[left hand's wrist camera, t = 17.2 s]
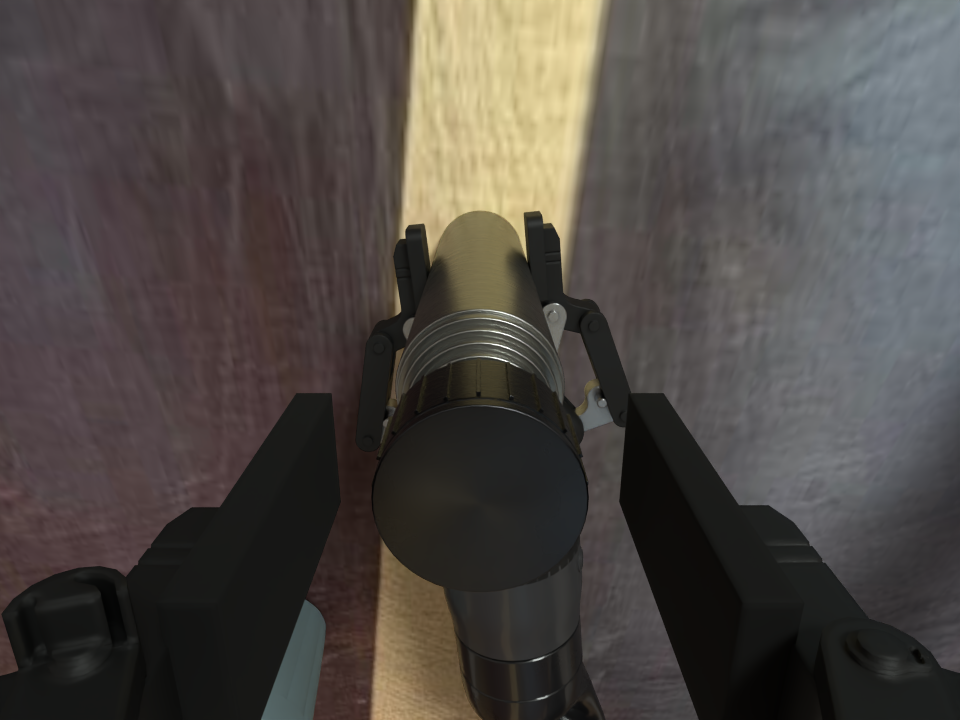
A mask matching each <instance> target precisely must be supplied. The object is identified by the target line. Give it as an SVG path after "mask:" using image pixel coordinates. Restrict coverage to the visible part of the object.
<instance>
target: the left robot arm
mask: <svg viewBox="0 0 960 720" xmlns="http://www.w3.org/2000/svg"><path fill="white" fill-rule="evenodd" d="M340 502H341V500H340V488H339V476H338V465H337V453H336V441H335V429H334V417H333V406H332V394H331V393H296V395H295V396H294V398H293V399H292V401H291V402H290V404H289V405H288V407H287V408H286V410H285V411H284V413H283V414H282V416H281V417H280V419H279V420H278V422H277V423H276V425H275V426H274V428H273V429H272V431H271V432H270V434H269V435H268V436H267V438H266V439H265V441H264V442H263V444H262V445H261V447H260V448H259V450H258V451H257V453H256V454H255V456H254V457H253V459H252V460H251V462H250V463H249V465H248V466H247V468H246V469H245V471H244V472H243V474H242V475H241V477H240V478H239V480H238V481H237V483H236V484H235V486H234V487H233V488H232V490H231V491H230V493H229V494H228V496H227V497H226V499H225V500H224V502H223V503H222V505H221V506H220V507H192V508H190V509H189V510H187V511H186V512H184V513H183V514H181V515H180V516H178V517H177V518H175V519H174V520H173V521H171V522H170V523H168V524H167V525H166V526H165V527H164V529H163V530H162V531H161V532H160V534H159V535H158V536H157V538H156V539H155V540H154V541H153V543H152V544H151V548H148V549H147V550H146V552H145V553H144V554H143V556H142V557H141V558H140V560H139V561H138V565H135V566H134V567H133V569H132V570H131V571H130V572H129V574H128V575H127V576H126V577H125V576H124V575H122V574H121V573H120V572H119V571H117V570H116V569H111V568H106V567H101V566H95V567H83V568H76V569H72V570H69V571H65V572H62V573H58V574H55V575H53V576H50V577H48V578H46V579H44V580H42V581H40V582H38V583H36V584H34V585H32V586H30V587H29V588H28V589H26V590H25V591H23V592H22V593H21V594H19V595H18V596H17V597H15V598H14V599H13V600H12V601H11V603H10V604H9V605H8V606H7V608H6V609H5V610H4V611H3V613H2V617H3V621H4V624H5V627H6V630H7V633H8V637H9V640H10V643H11V646H12V649H13V653H14V656H15V659H16V662H17V665H18V671H16V672H13V673H10V674H6V675H2V676H0V720H261V718H262V716H263V713H264V710H265V708H266V705H267V702H268V699H269V697H270V694H271V691H272V688H273V686H274V683H275V680H276V677H277V675H278V672H279V669H280V666H281V664H282V661H283V658H284V656H285V653H286V650H287V647H288V645H289V642H290V639H291V636H292V634H293V631H294V628H295V625H296V623H297V620H298V617H299V615H300V612H301V609H302V606H303V604H304V601H305V598H306V595H307V593H308V590H309V587H310V584H311V582H312V579H313V576H314V573H315V571H316V568H317V565H318V563H319V560H320V557H321V554H322V552H323V549H324V546H325V543H326V541H327V538H328V535H329V532H330V530H331V527H332V524H333V522H334V519H335V516H336V513H337V511H338V508H339V505H340ZM619 502H620V505H621V508H622V511H623V513H624V516H625V519H626V522H627V524H628V527H629V530H630V532H631V535H632V538H633V541H634V543H635V546H636V549H637V552H638V554H639V557H640V560H641V563H642V565H643V568H644V571H645V573H646V576H647V579H648V582H649V584H650V587H651V590H652V593H653V595H654V598H655V601H656V604H657V606H658V609H659V612H660V615H661V617H662V620H663V623H664V625H665V628H666V631H667V634H668V636H669V639H670V642H671V645H672V647H673V650H674V653H675V656H676V658H677V661H678V664H679V666H680V669H681V672H682V675H683V677H684V680H685V683H686V686H687V688H688V691H689V694H690V697H691V699H692V702H693V705H694V708H695V710H696V713H697V716H698V718H699V720H960V673H957V672H953V671H950V670H946V669H943V668H941V667H940V665H939V664H938V662H937V661H936V659H935V658H934V656H933V655H932V653H931V652H930V651H929V650H927V649H926V648H925V647H924V646H923V645H921V644H920V643H919V642H918V641H917V640H915V639H914V638H913V637H911V636H909V635H908V634H906V633H904V632H902V631H900V630H898V629H896V628H894V627H893V626H890V625H887V624H884V623H881V622H878V621H874V620H871V619H869V618H868V617H867V616H866V614H865V613H864V612H863V610H862V609H861V608H860V607H859V605H858V604H857V603H856V601H855V600H854V599H853V598H852V596H851V595H850V594H849V593H848V591H847V590H846V589H845V587H844V586H843V585H842V584H841V582H840V581H839V580H838V578H837V577H836V576H835V575H834V573H833V572H832V571H831V569H830V568H829V567H828V566H827V564H826V563H823V562H822V558H821V557H820V555H819V554H818V553H817V552H816V550H815V549H814V548H813V546H809V541H808V540H807V539H806V537H805V536H804V535H803V534H802V532H801V531H800V530H799V529H798V527H797V526H796V525H795V523H794V522H792V521H791V520H789V519H788V518H787V517H785V516H784V515H782V514H781V513H779V512H778V511H776V510H775V509H773V508H772V507H770V506H769V505H738V503H737V502H736V500H735V499H734V497H733V496H732V494H731V493H730V491H729V490H728V488H727V487H726V486H725V484H724V483H723V481H722V480H721V478H720V477H719V475H718V474H717V472H716V471H715V469H714V468H713V466H712V465H711V463H710V462H709V460H708V459H707V457H706V456H705V454H704V453H703V451H702V450H701V448H700V447H699V445H698V444H697V442H696V441H695V439H694V438H693V436H692V435H691V434H690V432H689V431H688V429H687V428H686V426H685V425H684V423H683V422H682V420H681V419H680V417H679V416H678V414H677V413H676V411H675V410H674V408H673V407H672V405H671V404H670V402H669V401H668V399H667V398H666V396H665V395H664V393H629V394H628V406H627V417H626V429H625V441H624V453H623V465H622V476H621V488H620V500H619Z"/></svg>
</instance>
